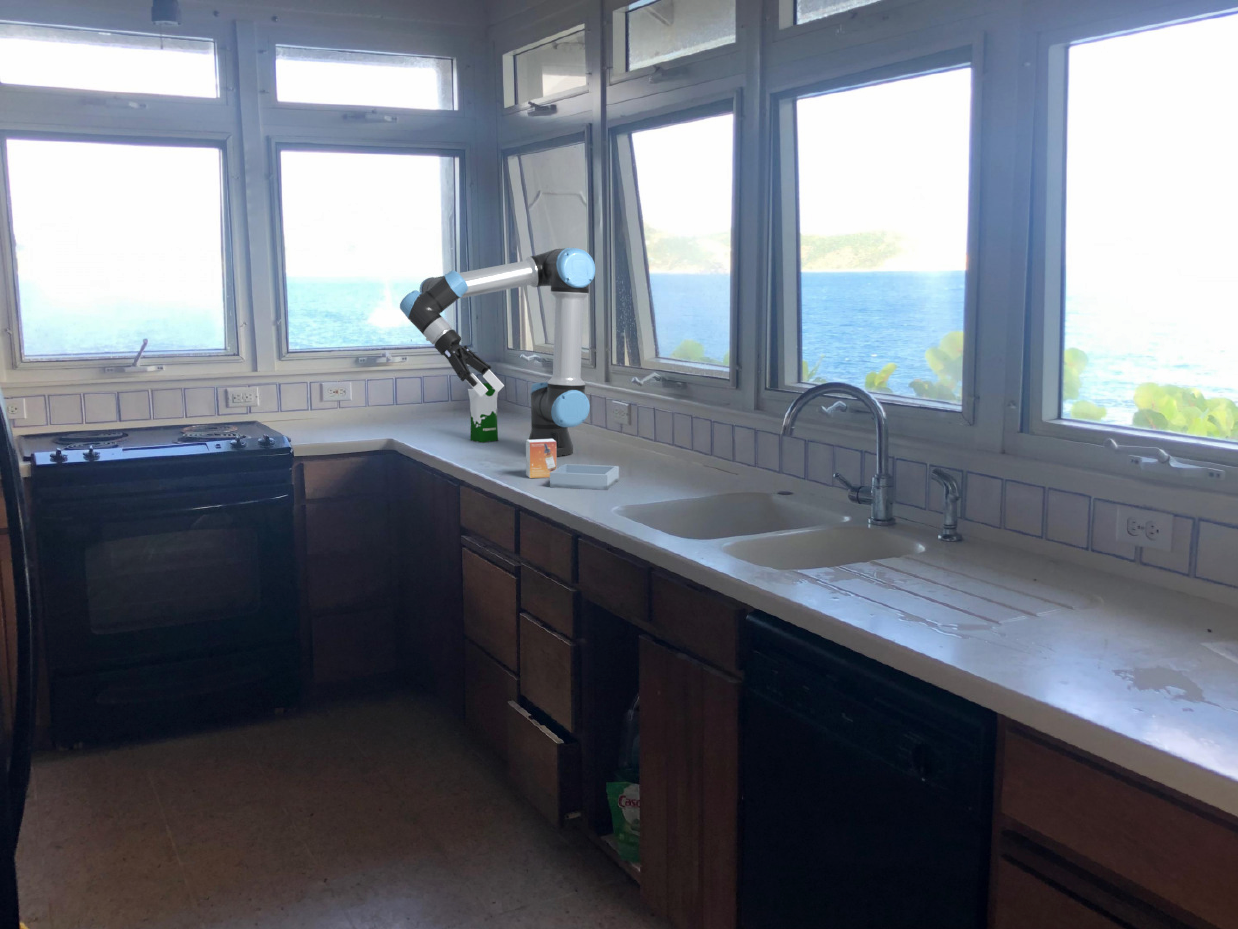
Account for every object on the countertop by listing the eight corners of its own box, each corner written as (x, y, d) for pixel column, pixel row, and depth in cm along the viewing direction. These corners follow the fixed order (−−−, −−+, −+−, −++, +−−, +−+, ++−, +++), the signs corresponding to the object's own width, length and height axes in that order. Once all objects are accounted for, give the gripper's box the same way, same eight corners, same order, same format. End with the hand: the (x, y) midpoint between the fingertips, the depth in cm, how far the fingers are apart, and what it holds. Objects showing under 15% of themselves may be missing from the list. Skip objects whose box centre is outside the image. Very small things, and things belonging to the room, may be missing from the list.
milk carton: (480, 443, 369) (479, 384, 366) (466, 440, 376) (464, 382, 372) (501, 440, 375) (500, 383, 371) (487, 437, 381) (486, 381, 378)
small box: (529, 478, 305) (528, 442, 304) (525, 475, 311) (525, 439, 309) (557, 477, 307) (556, 440, 306) (553, 474, 313) (552, 438, 311)
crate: (564, 477, 307) (563, 464, 306) (618, 480, 303) (618, 466, 302) (550, 487, 293) (549, 472, 292) (607, 489, 290) (607, 475, 289)
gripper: (451, 343, 323) (498, 395, 322) (416, 348, 299) (468, 404, 298) (467, 326, 321) (515, 378, 320) (434, 329, 297) (486, 386, 296)
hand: (493, 391), depth 309 cm, fingers open, 13 cm apart
